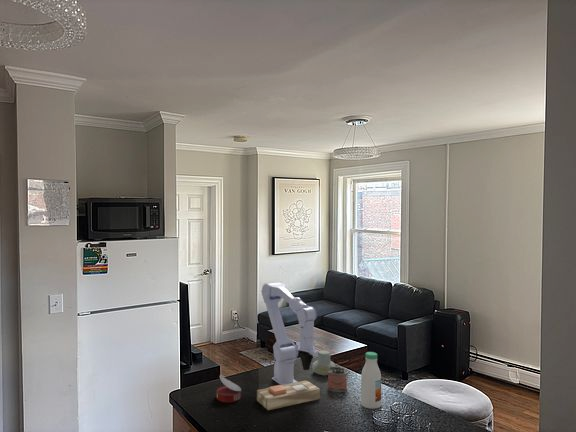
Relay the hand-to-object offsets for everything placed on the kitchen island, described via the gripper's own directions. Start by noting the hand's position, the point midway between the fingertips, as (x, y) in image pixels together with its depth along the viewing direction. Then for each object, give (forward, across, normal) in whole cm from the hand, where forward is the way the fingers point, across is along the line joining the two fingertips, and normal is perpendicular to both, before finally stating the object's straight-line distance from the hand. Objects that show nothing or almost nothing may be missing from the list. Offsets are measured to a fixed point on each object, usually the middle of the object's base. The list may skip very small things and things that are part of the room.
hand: (306, 369), depth 175 cm
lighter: (+10, +4, +13) cm, 17 cm away
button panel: (+9, +3, -10) cm, 14 cm away
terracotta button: (+7, +3, -15) cm, 17 cm away
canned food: (+10, -10, -30) cm, 33 cm away
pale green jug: (+10, -15, +19) cm, 26 cm away
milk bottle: (+10, +22, +16) cm, 29 cm away
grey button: (+8, +3, -5) cm, 10 cm away
